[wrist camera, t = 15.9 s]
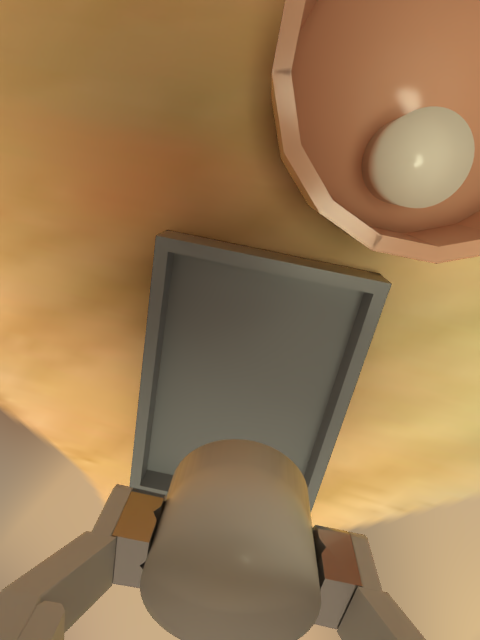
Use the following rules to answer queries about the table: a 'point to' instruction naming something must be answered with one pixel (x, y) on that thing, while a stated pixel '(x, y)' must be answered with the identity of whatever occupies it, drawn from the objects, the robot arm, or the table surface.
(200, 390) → the parts tray
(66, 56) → the table surface
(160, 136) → the table surface
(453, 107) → the terracotta bowl
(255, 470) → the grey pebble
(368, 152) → the sandstone pebble
